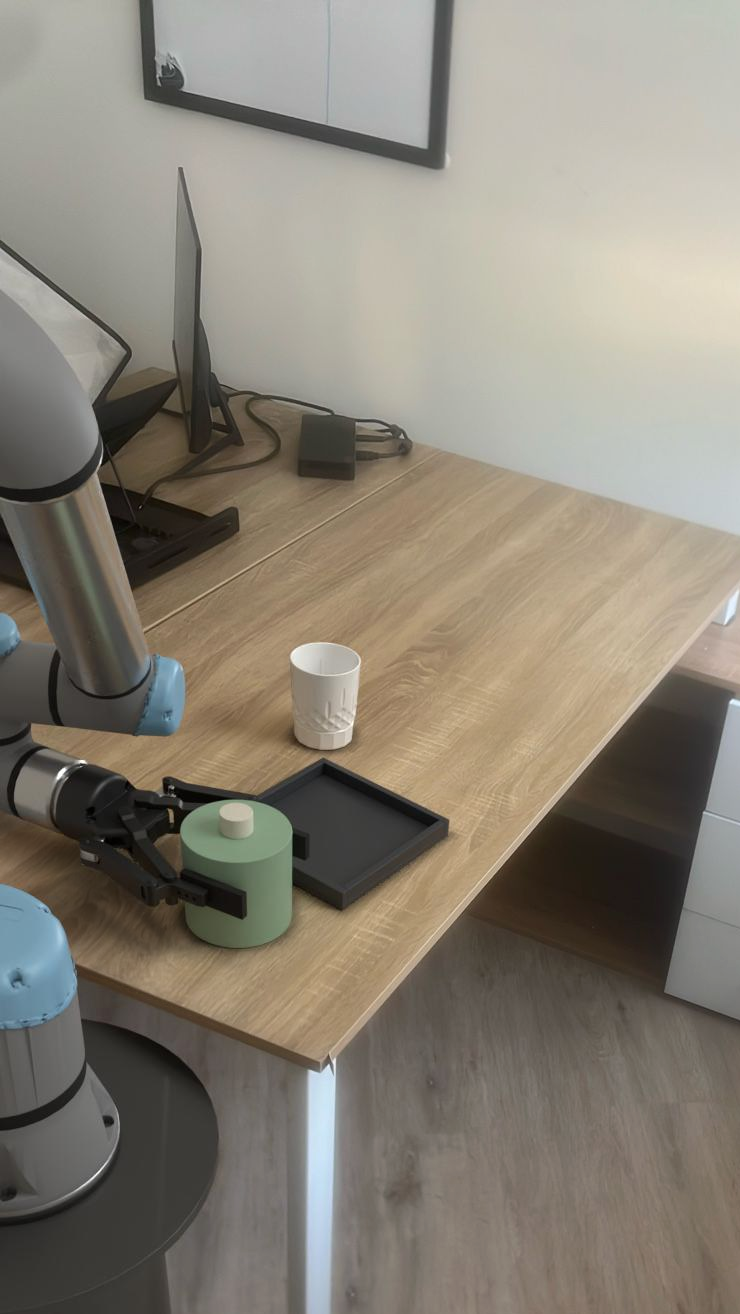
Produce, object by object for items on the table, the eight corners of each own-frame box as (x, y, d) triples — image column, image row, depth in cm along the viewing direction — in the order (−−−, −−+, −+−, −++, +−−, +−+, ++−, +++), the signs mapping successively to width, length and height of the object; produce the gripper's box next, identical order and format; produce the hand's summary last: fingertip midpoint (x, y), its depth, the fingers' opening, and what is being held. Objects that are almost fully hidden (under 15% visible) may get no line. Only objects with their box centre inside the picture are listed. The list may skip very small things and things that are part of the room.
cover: (241, 962, 117) (238, 858, 110) (163, 917, 121) (154, 812, 113) (313, 913, 124) (315, 811, 117) (237, 870, 128) (234, 769, 120)
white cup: (312, 759, 145) (313, 681, 139) (276, 727, 149) (276, 650, 143) (370, 743, 149) (374, 666, 143) (334, 712, 154) (336, 636, 147)
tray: (342, 910, 125) (342, 893, 124) (210, 838, 131) (209, 821, 130) (448, 835, 137) (449, 819, 136) (322, 773, 143) (323, 757, 142)
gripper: (152, 779, 133) (338, 848, 128) (0, 890, 117) (207, 975, 112) (147, 717, 128) (340, 786, 123) (-12, 823, 112) (203, 908, 107)
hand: (277, 875), depth 117 cm, fingers closed on cover, 10 cm apart
